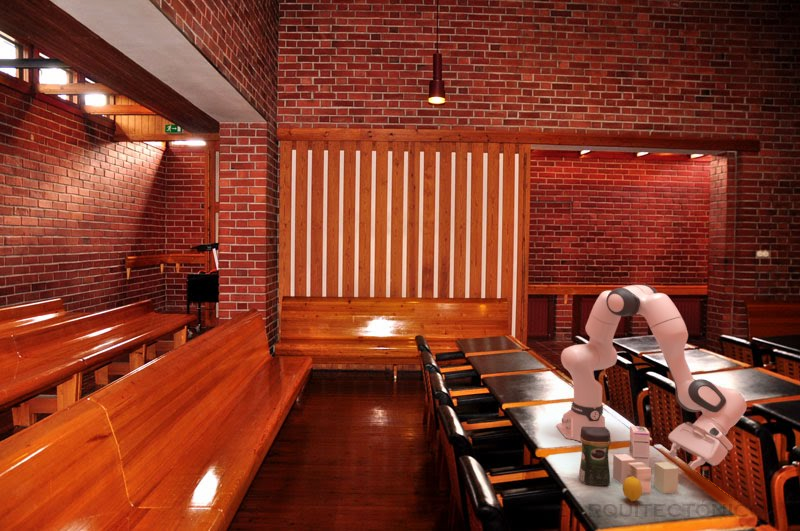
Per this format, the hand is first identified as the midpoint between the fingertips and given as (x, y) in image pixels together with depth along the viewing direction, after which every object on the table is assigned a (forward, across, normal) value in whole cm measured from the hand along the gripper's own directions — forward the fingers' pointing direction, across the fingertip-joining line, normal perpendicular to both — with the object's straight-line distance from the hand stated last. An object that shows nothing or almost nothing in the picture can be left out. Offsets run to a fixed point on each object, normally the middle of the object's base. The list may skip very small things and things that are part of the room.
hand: (680, 461), depth 176 cm
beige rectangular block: (+10, 0, +3) cm, 10 cm away
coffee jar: (+25, -9, -12) cm, 29 cm away
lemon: (+22, +6, -8) cm, 24 cm away
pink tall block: (+16, -1, -4) cm, 17 cm away
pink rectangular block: (+17, -8, -4) cm, 19 cm away
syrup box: (+9, -16, +4) cm, 19 cm away
